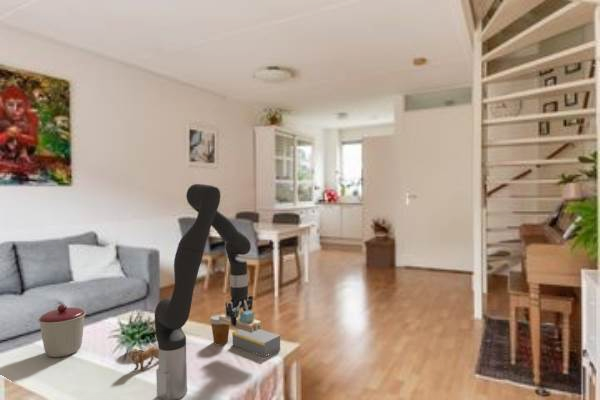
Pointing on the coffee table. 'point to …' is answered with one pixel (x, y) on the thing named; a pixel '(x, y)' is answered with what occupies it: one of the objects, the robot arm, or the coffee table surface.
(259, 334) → the block
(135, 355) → the lion figurine
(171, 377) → the robot arm
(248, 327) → the pallet
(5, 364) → the coffee table surface
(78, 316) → the canister
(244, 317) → the teal cube
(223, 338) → the disposable coffee cup
